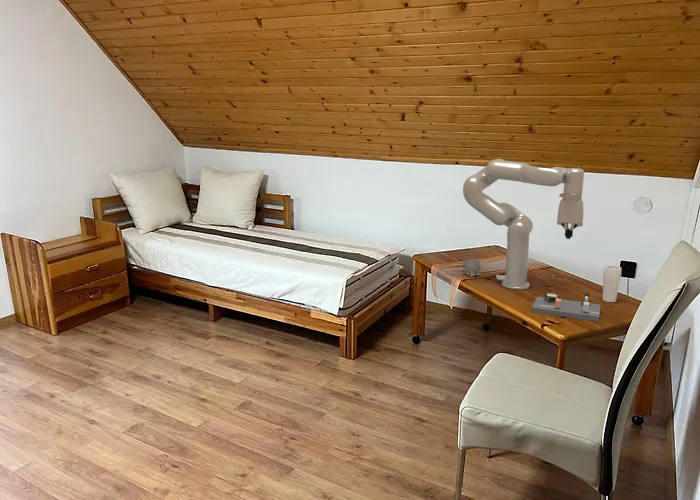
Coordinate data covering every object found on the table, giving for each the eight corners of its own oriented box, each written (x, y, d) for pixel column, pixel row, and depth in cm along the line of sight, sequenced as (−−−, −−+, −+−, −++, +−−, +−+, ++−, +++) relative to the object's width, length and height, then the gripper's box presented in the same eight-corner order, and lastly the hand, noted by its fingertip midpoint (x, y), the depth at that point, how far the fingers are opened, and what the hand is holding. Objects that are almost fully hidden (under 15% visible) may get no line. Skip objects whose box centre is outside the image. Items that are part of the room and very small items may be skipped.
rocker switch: (547, 295, 224) (547, 293, 224) (548, 298, 230) (548, 295, 230) (556, 296, 222) (556, 294, 222) (557, 299, 228) (557, 296, 229)
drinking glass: (603, 303, 229) (606, 269, 225) (598, 297, 235) (602, 264, 232) (620, 303, 228) (624, 269, 224) (615, 298, 234) (618, 265, 231)
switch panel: (531, 312, 220) (532, 300, 219) (536, 300, 233) (537, 290, 232) (598, 321, 209) (599, 310, 208) (600, 309, 222) (601, 298, 221)
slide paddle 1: (554, 307, 217) (555, 300, 217) (555, 305, 220) (556, 298, 219) (560, 308, 216) (560, 301, 216) (560, 305, 219) (561, 298, 218)
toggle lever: (583, 302, 220) (584, 291, 221) (583, 303, 222) (584, 292, 223) (588, 303, 220) (589, 292, 220) (588, 304, 221) (589, 292, 222)
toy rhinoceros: (469, 270, 279) (470, 254, 277) (483, 276, 268) (483, 259, 266) (457, 271, 277) (458, 255, 274) (470, 278, 266) (471, 261, 264)
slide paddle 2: (582, 311, 213) (583, 304, 212) (583, 308, 215) (584, 301, 215) (588, 312, 212) (589, 304, 211) (588, 309, 215) (589, 302, 214)
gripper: (552, 197, 234) (549, 238, 239) (589, 199, 227) (585, 242, 231) (555, 194, 240) (552, 234, 245) (592, 197, 233) (587, 238, 238)
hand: (568, 238), depth 238 cm, fingers closed
